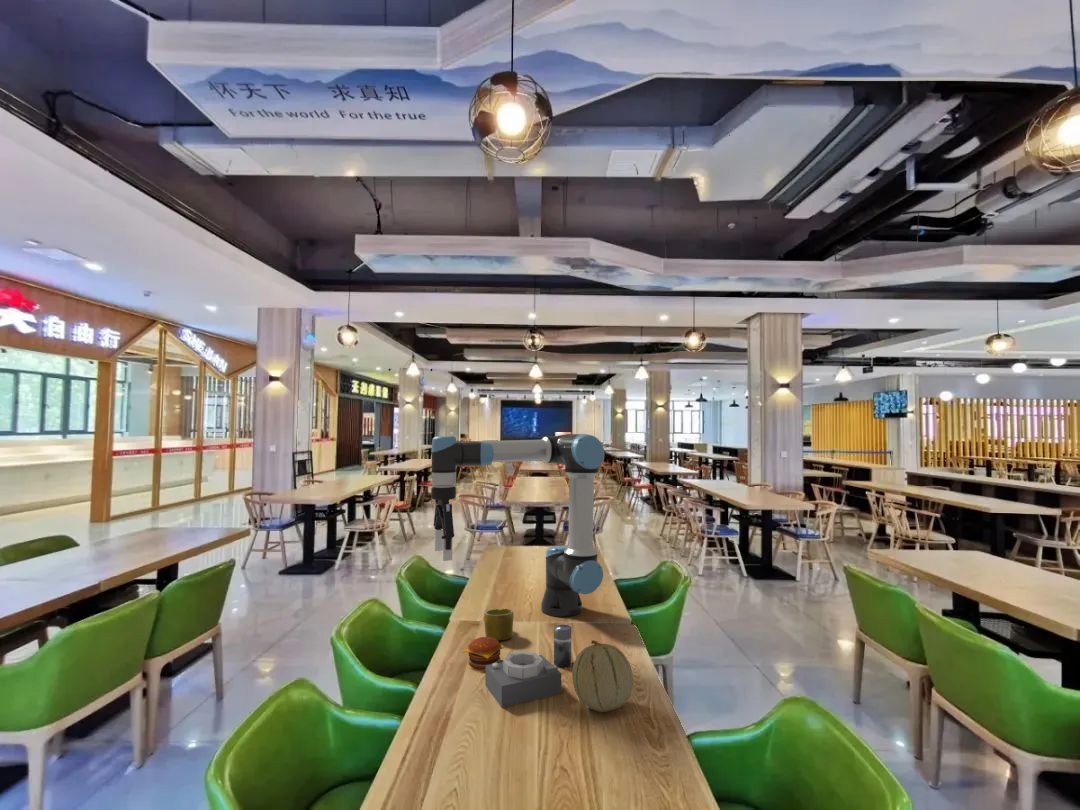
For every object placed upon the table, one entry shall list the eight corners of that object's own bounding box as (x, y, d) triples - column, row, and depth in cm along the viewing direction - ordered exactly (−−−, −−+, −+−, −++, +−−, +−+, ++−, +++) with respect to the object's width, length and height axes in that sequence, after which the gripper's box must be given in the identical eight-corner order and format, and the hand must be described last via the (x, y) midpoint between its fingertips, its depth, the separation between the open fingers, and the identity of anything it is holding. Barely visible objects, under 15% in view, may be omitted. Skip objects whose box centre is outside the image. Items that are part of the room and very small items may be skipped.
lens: (566, 658, 153) (566, 622, 153) (574, 665, 148) (574, 628, 149) (550, 661, 151) (550, 625, 151) (558, 669, 146) (558, 631, 147)
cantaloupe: (618, 732, 116) (618, 662, 117) (560, 713, 124) (560, 647, 124) (643, 702, 128) (642, 639, 129) (589, 686, 136) (588, 627, 137)
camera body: (541, 673, 143) (541, 645, 144) (561, 693, 133) (561, 663, 133) (485, 685, 137) (485, 655, 137) (501, 707, 126) (501, 675, 126)
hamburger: (489, 672, 144) (489, 648, 144) (461, 665, 149) (461, 641, 149) (507, 659, 152) (507, 636, 153) (480, 653, 157) (480, 630, 157)
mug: (513, 639, 162) (505, 606, 165) (483, 647, 164) (476, 614, 167) (524, 632, 173) (517, 601, 176) (496, 640, 175) (489, 609, 178)
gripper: (425, 482, 174) (424, 547, 173) (438, 490, 151) (438, 566, 150) (447, 481, 176) (447, 545, 176) (464, 489, 153) (464, 563, 152)
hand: (443, 555), depth 163 cm, fingers open, 13 cm apart
